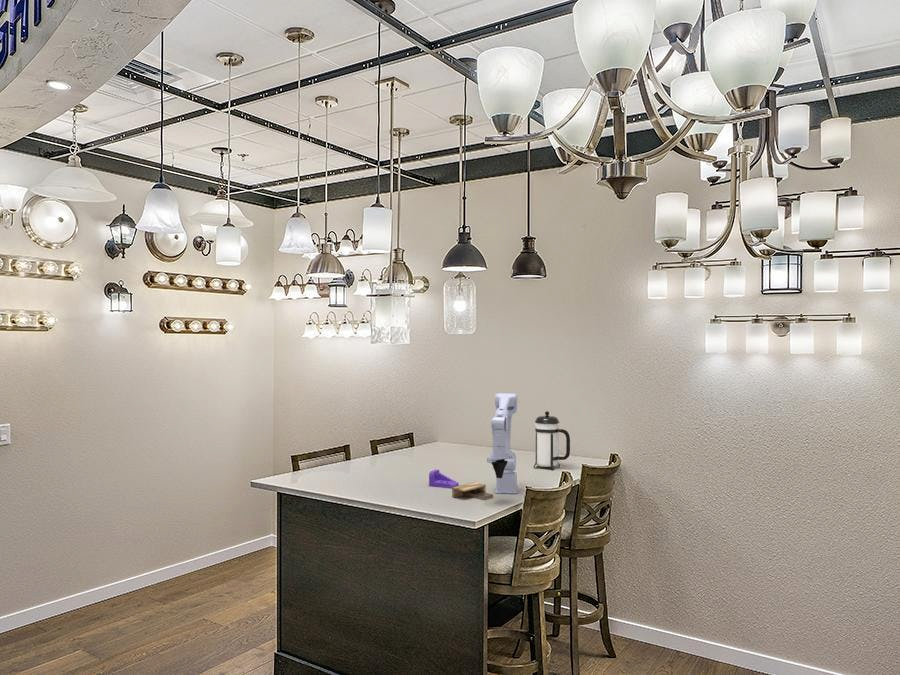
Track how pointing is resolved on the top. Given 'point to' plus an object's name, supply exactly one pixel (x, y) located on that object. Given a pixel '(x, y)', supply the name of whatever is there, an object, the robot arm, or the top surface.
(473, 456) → the top surface
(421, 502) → the top surface
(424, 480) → the top surface
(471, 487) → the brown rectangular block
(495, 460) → the robot arm
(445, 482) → the bracket
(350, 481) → the top surface
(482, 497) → the grey rectangular block
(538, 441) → the coffee press
